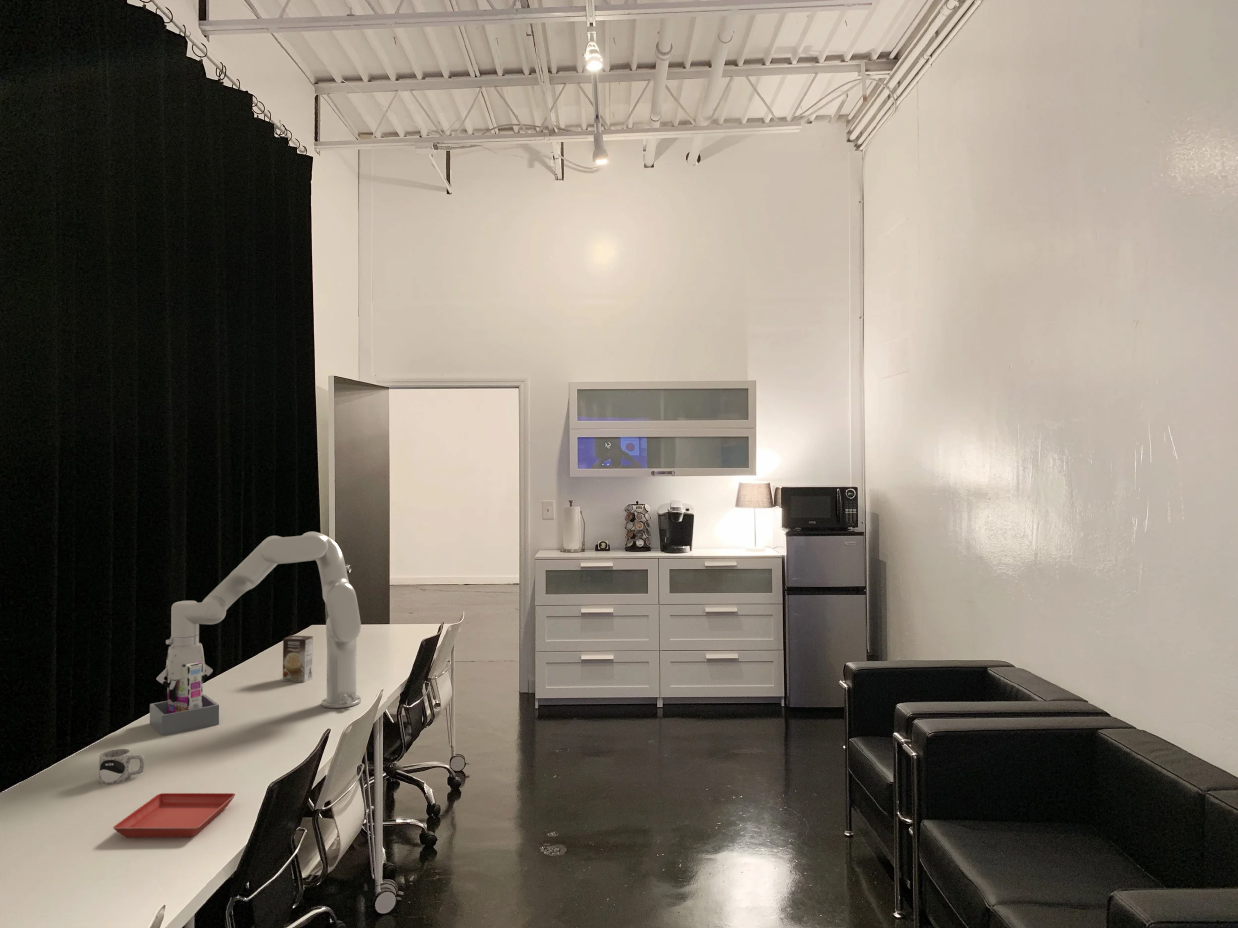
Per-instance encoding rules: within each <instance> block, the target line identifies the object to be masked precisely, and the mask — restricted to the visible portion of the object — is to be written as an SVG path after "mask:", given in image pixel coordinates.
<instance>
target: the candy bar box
mask: <svg viewBox="0 0 1238 928" xmlns="http://www.w3.org/2000/svg"><path fill="white" fill-rule="evenodd" d="M166 678H167V677H166ZM169 680H170V679H169V678H167V682H169ZM203 683H204V682H203V663H200V662H197V663H190V664H184V665H182V679H181V680H177V681H176V683H175V686H174V689H175V702H172V701H171V700H170V699H169V697H168V688H167V695H166V696H167V700H166V701H167V714H170V713H175V712H181V711H186V710H191V709H197V708H202V695H204V694H203V685H204V684H203Z"/></svg>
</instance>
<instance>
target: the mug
mask: <svg viewBox="0 0 1238 928" xmlns="http://www.w3.org/2000/svg"><path fill="white" fill-rule="evenodd" d="M131 760H139V768H138V769H135V770H134V769H132V770H131ZM98 765H99V766H98V767H99V769H98V772H99V777H98V779H99V780H98V781H99V784H100V785H115V784H120V783H123V782H125V781H128V780H130V779H131V777H132V776H135V775H139V774H141V773H143V772H144V770H145V758H144V755H142V754H136V753H133V754H132V753H131V749H129V748H115V749H110V750H107V751H104V752H102V753H100V754H99V763H98Z"/></svg>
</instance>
